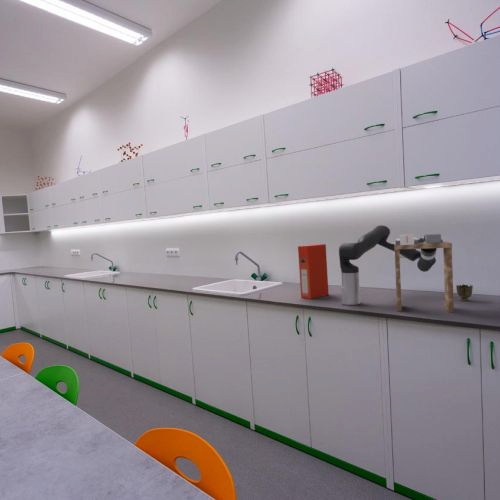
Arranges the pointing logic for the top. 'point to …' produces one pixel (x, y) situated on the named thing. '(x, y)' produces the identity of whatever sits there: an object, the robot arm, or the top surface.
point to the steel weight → (432, 238)
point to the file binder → (313, 271)
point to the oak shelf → (447, 271)
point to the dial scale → (407, 240)
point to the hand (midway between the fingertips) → (430, 235)
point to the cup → (464, 292)
